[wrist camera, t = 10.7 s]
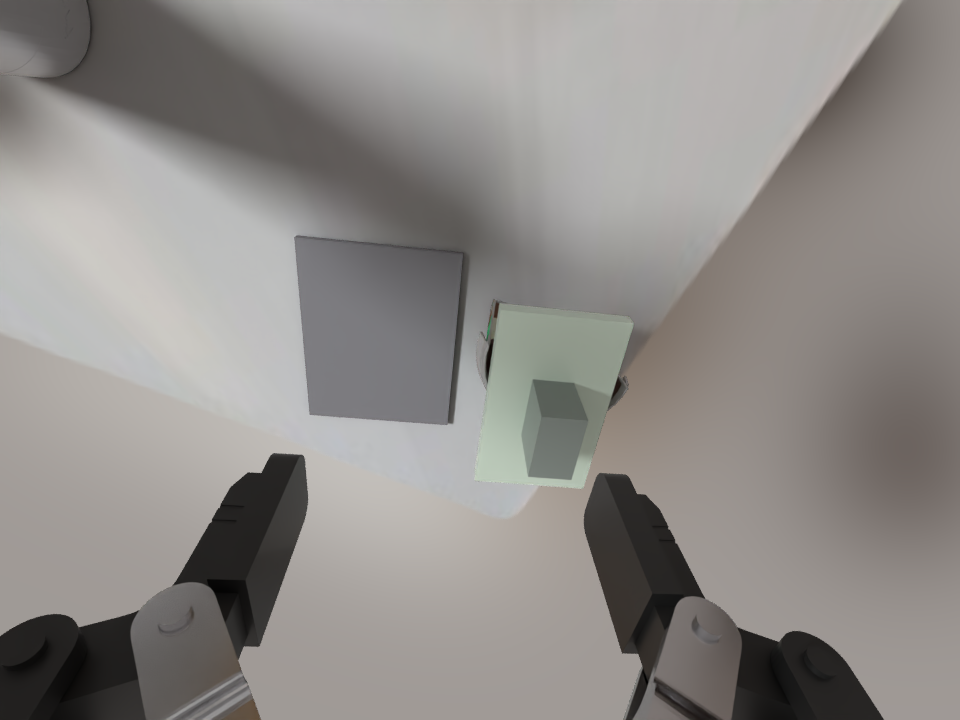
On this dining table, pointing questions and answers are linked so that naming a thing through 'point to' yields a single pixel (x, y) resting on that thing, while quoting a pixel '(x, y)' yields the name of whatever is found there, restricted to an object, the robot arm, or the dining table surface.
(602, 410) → the lid
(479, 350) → the food container
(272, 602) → the robot arm
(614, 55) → the dining table surface
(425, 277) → the mat
